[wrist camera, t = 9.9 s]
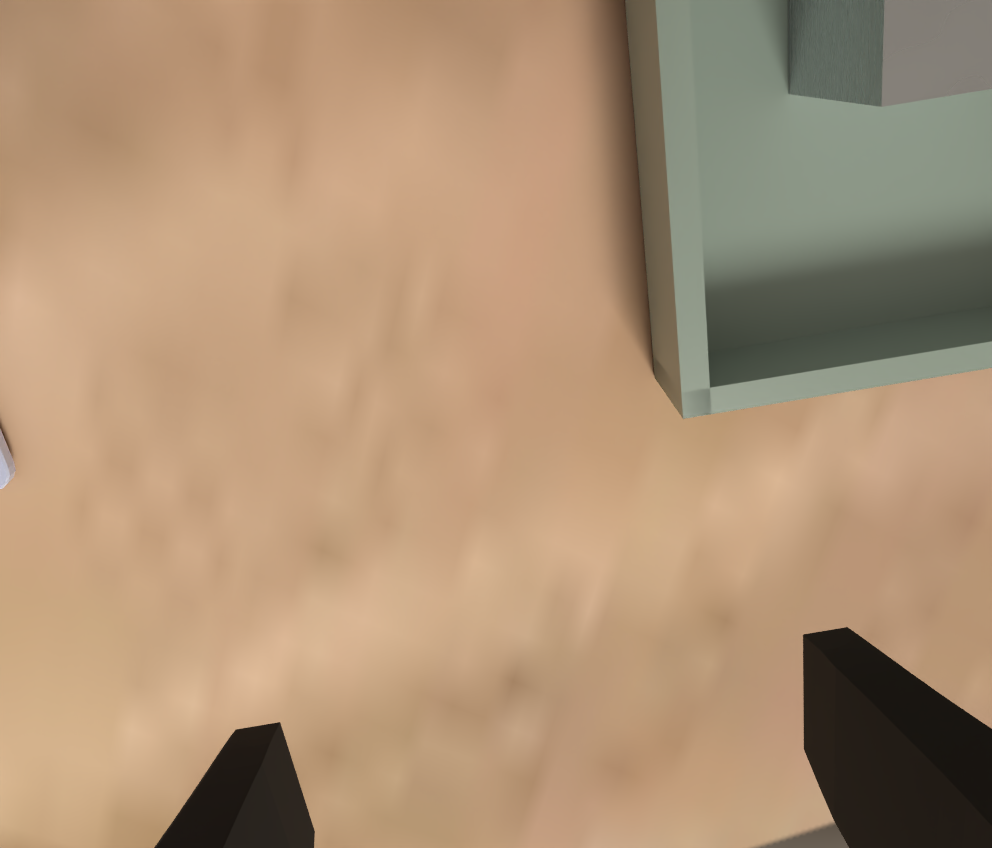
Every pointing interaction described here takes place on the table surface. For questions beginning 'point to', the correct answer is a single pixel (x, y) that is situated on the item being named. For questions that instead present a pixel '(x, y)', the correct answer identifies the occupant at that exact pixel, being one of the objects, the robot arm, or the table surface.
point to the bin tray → (800, 218)
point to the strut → (888, 49)
